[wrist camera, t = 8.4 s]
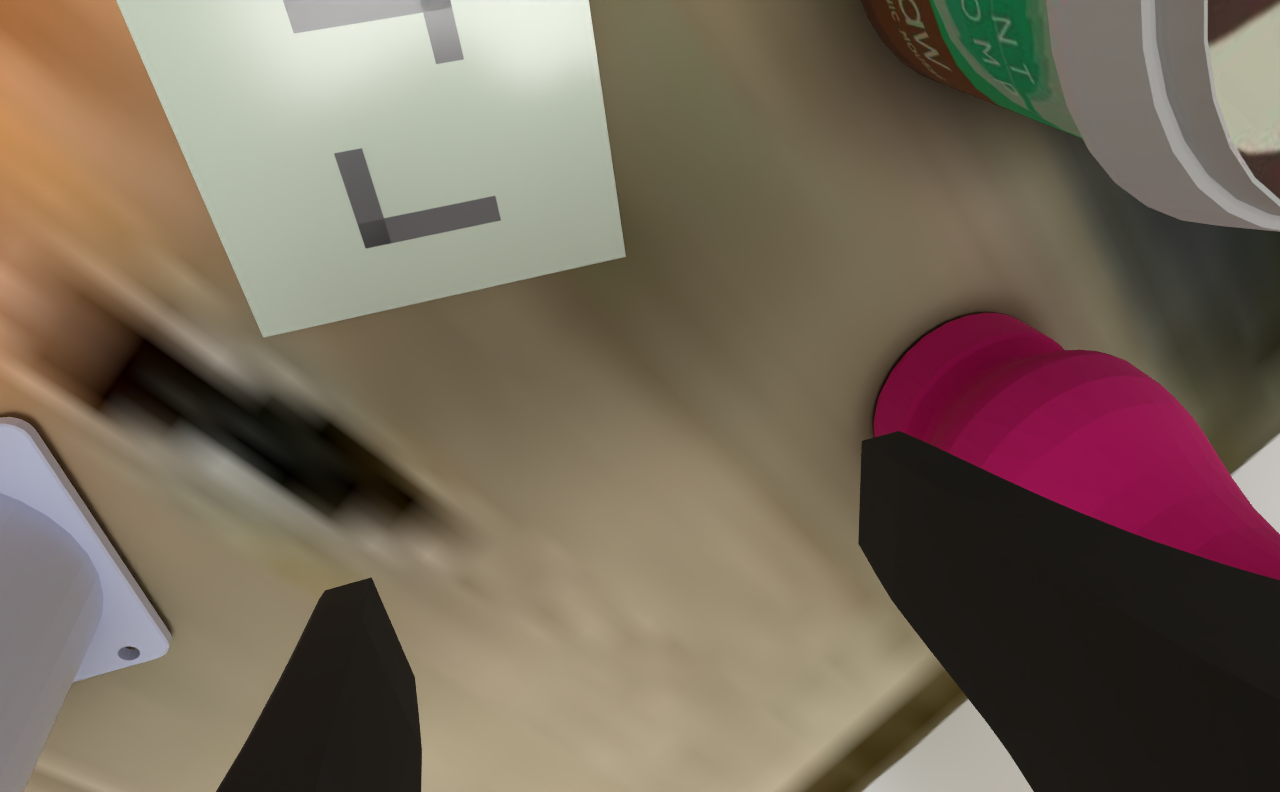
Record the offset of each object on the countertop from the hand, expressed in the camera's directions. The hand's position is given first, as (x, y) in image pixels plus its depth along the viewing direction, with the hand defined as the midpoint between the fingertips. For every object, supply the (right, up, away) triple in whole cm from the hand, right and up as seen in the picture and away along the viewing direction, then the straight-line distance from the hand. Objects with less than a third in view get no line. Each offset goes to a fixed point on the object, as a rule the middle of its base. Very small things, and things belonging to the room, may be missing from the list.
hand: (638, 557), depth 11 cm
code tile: (-5, +9, +6) cm, 12 cm away
